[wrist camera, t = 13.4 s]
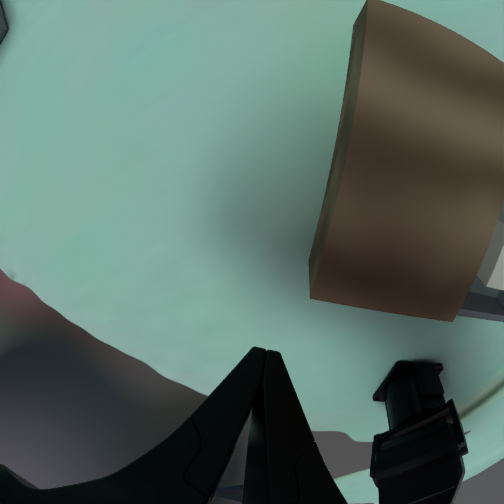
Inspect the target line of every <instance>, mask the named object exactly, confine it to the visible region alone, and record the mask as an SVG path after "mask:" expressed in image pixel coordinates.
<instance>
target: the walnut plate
mask: <svg viewBox="0 0 504 504" xmlns="http://www.w3.org/2000/svg"><path fill="white" fill-rule="evenodd" d="M503 201H504V63H503V62H502V61H500V60H499V59H498V58H496V57H495V56H493V55H492V54H490V53H489V52H487V51H486V50H484V49H483V48H481V47H480V46H478V45H476V44H475V43H473V42H471V41H470V40H468V39H466V38H465V37H463V36H461V35H459V34H457V33H456V32H454V31H452V30H450V29H448V28H446V27H444V26H442V25H440V24H438V23H436V22H434V21H432V20H430V19H427V18H425V17H423V16H421V15H418V14H416V13H413V12H411V11H408V10H406V9H403V8H401V7H398V6H395V5H392V4H390V3H387V2H384V1H381V0H366V2H365V4H364V6H363V8H362V10H361V12H360V13H359V15H358V17H357V19H356V21H355V23H354V25H353V33H352V41H351V50H350V57H349V65H348V72H347V79H346V86H345V92H344V98H343V104H342V110H341V116H340V122H339V128H338V133H337V138H336V144H335V149H334V154H333V159H332V164H331V169H330V174H329V178H328V183H327V188H326V192H325V197H324V201H323V205H322V210H321V214H320V218H319V222H318V227H317V231H316V235H315V239H314V243H313V247H312V251H311V255H310V258H309V282H310V299H315V300H320V301H326V302H331V303H337V304H342V305H348V306H353V307H359V308H365V309H371V310H377V311H383V312H389V313H395V314H401V315H408V316H414V317H421V318H428V319H435V320H442V321H449V322H453V320H454V318H455V316H456V315H457V313H458V311H459V309H460V307H461V305H462V304H463V302H464V300H465V298H466V296H467V294H468V292H469V290H470V288H471V286H472V283H473V281H474V279H475V277H476V275H477V273H478V270H479V268H480V266H481V263H482V261H483V259H484V256H485V254H486V251H487V249H488V246H489V243H490V241H491V238H492V235H493V232H494V230H495V227H496V224H497V221H498V217H499V214H500V211H501V208H502V204H503Z"/></svg>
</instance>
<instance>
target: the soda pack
mask: <svg viewBox="0 0 504 504" xmlns="http://www.w3.org/2000/svg"><path fill="white" fill-rule="evenodd" d="M7 30H8V28H7V25H6V21H5V18H4V15H3V11H2V7H1V2H0V41H1V40H2V38H3V36H4V35H5V33H6V31H7Z"/></svg>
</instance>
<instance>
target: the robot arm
mask: <svg viewBox="0 0 504 504" xmlns="http://www.w3.org/2000/svg"><path fill="white" fill-rule="evenodd" d="M442 370H443V365H442V364H433V363H416V362H402V361H400V362H397V363H396V364H395V365H394V367H393V368H392V370H391V371H390V373H389V374H388V376H387V377H386V379H385V380H384V382H383V383H382V384H381V386H380V387H379V389H378V390H377V391H376V393H375V394H374V395H373V401H380V402H385V406H386V411H387V417H388V424H389V431H386V432H384V433H381V434H377V435H374V441H373V446H372V457H371V466H370V477H371V478H373V481H374V483H375V485H376V487H377V488H378V491H379V504H454V500H455V498H456V495H457V493H458V490H459V488H460V485H461V483H462V480H463V477H464V474H465V467H464V462H463V458H462V456H463V455H465V454H467V453H468V448H467V443H466V439H465V435H464V431H463V427H462V424H461V421H460V418H459V415H458V412H457V409H456V407H455V404H454V402H453V399H451V400H449V401H448V402H447V403H446V402H445V399H444V396H443V394H444V389H443V387H442V384H441V381H440V378H439V376H438V375H439V374H440V373H441V371H442ZM250 412H251V415H250V426H249V435H248V445H247V456H246V465H245V476H244V485H243V494H242V503H241V504H348V503H347V502H346V500H345V498H344V497H343V495H342V493H341V492H340V490H339V488H338V487H337V485H336V483H335V482H334V480H333V478H332V476H331V474H330V473H329V471H328V469H327V467H326V465H325V463H324V461H323V458H322V456H321V454H320V452H319V449H318V447H317V444H316V442H314V437H313V434H312V432H311V429H310V427H309V424H308V422H307V419H306V417H305V414H304V412H303V409H302V407H301V404H300V402H299V399H298V397H297V394H296V392H295V389H294V387H293V384H292V382H291V379H290V376H289V374H288V371H287V369H286V366H285V364H284V361H283V359H282V356H281V354H280V352H278V351H273V350H267V351H266V349H264V348H259V347H252V348H251V349H250V351H249V352H248V353H247V354H246V355H245V356H244V358H243V359H242V360H241V361H240V362H239V363H238V364H237V365H236V367H235V368H234V369H233V370H232V371H231V372H230V373H229V374H228V375H227V377H226V378H225V379H224V380H223V381H222V382H221V383H220V384H219V385H218V386H217V387H216V389H215V390H214V391H213V392H212V393H211V394H210V395H209V396H208V397H207V398H206V399H205V400H204V401H203V402H202V403H201V405H200V406H199V407H198V408H197V409H196V410H195V411H194V412H193V413H192V414H191V415H190V416H189V417H188V418H187V419H186V420H185V421H184V422H183V423H182V424H181V425H180V426H179V427H178V428H177V429H175V431H173V432H172V433H171V434H170V435H169V436H168V437H166V438H165V439H164V440H163V441H161V442H160V443H159V444H158V445H156V446H155V447H153V448H152V449H150V450H149V451H148V452H146V453H145V454H143V455H142V456H140V457H139V458H137V459H136V460H134V461H133V462H131V463H130V464H128V465H127V466H125V467H123V468H122V469H121V470H118V471H117V472H115V473H113V474H110V475H108V476H106V477H103V478H100V479H96V480H91V481H87V482H83V483H79V484H73V485H69V486H63V487H57V488H52V489H39V488H38V487H36V486H34V485H33V484H31V483H30V482H28V481H27V480H25V479H23V478H22V477H21V476H19V475H17V474H16V473H15V472H13V471H12V470H11V469H9V468H8V467H6V466H4V465H2V464H0V504H211V503H212V501H213V498H214V496H215V494H216V492H217V490H218V488H219V486H220V483H221V481H222V479H223V477H224V474H225V472H226V470H227V468H228V465H229V463H230V461H231V458H232V456H233V454H234V451H235V449H236V447H237V444H238V442H239V439H240V437H241V435H242V432H243V430H244V427H245V425H246V422H247V420H248V417H249V414H250ZM453 422H454V423H453Z"/></svg>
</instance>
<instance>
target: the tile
mask: <svg viewBox="0 0 504 504" xmlns="http://www.w3.org/2000/svg"><path fill="white" fill-rule="evenodd" d="M476 276H477V277H478V278H479V279H480V280H481V281H482V282H483V283H484V285H485V286H486V287H491V288H495V289H500V290H504V221H502V220H500V219H498V221H497V224H496V227H495V230H494V232H493V235H492V238H491V241H490V243H489V246H488V249H487V251H486V254H485V256H484V259H483V261H482V263H481V266H480V268H479V270H478V273H477V275H476Z"/></svg>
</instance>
